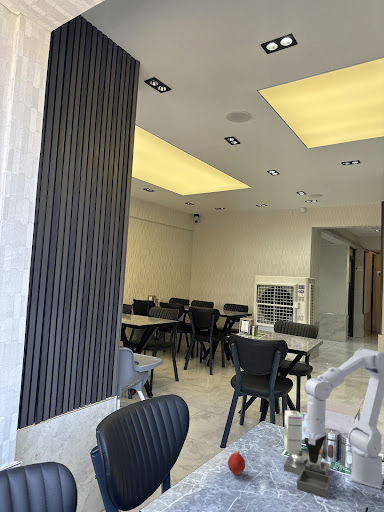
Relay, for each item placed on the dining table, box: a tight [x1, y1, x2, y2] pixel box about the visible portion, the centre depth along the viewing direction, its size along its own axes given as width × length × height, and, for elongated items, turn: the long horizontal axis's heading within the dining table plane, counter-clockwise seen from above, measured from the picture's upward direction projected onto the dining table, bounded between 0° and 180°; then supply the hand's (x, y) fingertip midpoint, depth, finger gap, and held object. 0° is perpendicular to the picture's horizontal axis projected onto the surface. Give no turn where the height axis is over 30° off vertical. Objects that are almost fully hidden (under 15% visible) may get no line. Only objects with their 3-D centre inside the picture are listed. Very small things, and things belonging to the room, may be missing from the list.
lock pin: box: [306, 447, 323, 470], centre depth 118 cm, size 5×5×6 cm
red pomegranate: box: [227, 450, 246, 476], centre depth 121 cm, size 6×6×8 cm
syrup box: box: [283, 410, 303, 454], centre depth 143 cm, size 6×6×14 cm
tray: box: [296, 469, 332, 499], centre depth 117 cm, size 9×9×2 cm
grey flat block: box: [283, 450, 331, 476], centre depth 128 cm, size 14×10×5 cm
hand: (314, 459), depth 118 cm, fingers closed on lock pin, 4 cm apart
